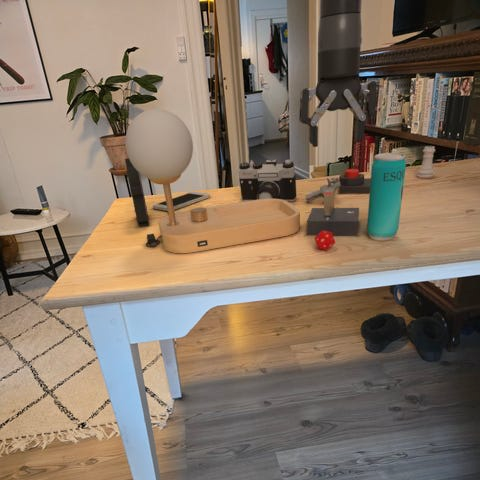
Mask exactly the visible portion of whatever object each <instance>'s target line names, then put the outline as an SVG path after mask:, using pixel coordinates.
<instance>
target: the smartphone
mask: <svg viewBox="0 0 480 480" xmlns="http://www.w3.org/2000/svg"><path fill="white" fill-rule="evenodd" d="M209 198H211V193H206V192H199V191H190V192H188V193H185V194H181V195H179V196H176V197H172V201H173V207H174V211H175V210H178V209H181V208H184V207H186V206H188V205H192V204H195V203H197V202H201V201H203V200H206V199H209ZM152 208H153V209H154V210H160V211H165V212H168V210H167V205H166V200H164V201H160V202H158V203H155V204H153V205H152Z"/></svg>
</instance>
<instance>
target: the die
mask: <svg viewBox="0 0 480 480" xmlns="http://www.w3.org/2000/svg"><path fill="white" fill-rule="evenodd" d="M313 239H314V242H315V245H316V248H317V249H318V250H322V251H326V252H327V251H328V250H329V249H331V248H332V247H333V246H334V245H335V244H336V240H335V237H334V235H333V234H332V232H329V231H325V230H322V231H321V232H320V233H319V234H318V235H315V236H314V238H313Z"/></svg>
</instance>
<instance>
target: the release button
mask: <svg viewBox="0 0 480 480" xmlns="http://www.w3.org/2000/svg"><path fill="white" fill-rule="evenodd" d="M359 173H360V169H357V168H349V169H345V171H344V174H345V177H348V178H354V177H359Z"/></svg>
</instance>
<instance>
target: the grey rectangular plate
mask: <svg viewBox="0 0 480 480" xmlns="http://www.w3.org/2000/svg"><path fill="white" fill-rule="evenodd" d="M323 202H324V203H323V208H324V217H331V215H332V212H333V210H334V208H336V207H335V206H336V205H335V203H336V190H335V187H329V188H328V189H327V191H326V193H325V195H324V198H323Z"/></svg>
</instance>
